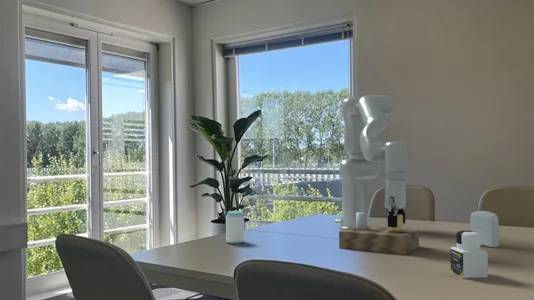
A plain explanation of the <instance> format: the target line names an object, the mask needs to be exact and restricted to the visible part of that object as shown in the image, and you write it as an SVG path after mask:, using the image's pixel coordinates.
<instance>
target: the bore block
mask: <svg viewBox="0 0 534 300" xmlns="http://www.w3.org/2000/svg"><path fill="white" fill-rule="evenodd" d="M338 240H339V241H338V243H339V246H338V247H339V249H343V248H344V249H345V250H355V251H367V252H375V253H383V254H384V253H385V254H397V255H406V256H407V255H408V254H410V253H412V252H413V251H415V250H416V249H418V248H420V230H419V229H412V228H411V229H410V228H403V234H400V233H391V227H383V226H369V225H367V231H360V230H356V225H355V226H352V227H350V228H347V229H344V230H343V229H341V230H339V231H338Z"/></svg>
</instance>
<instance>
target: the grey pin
mask: <svg viewBox="0 0 534 300" xmlns="http://www.w3.org/2000/svg"><path fill="white" fill-rule="evenodd" d="M367 226H368V212H365V211H364V212H357V213H356V230H360V231H367Z"/></svg>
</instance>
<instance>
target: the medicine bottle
mask: <svg viewBox="0 0 534 300" xmlns="http://www.w3.org/2000/svg"><path fill="white" fill-rule="evenodd" d="M488 255H489V254H488V251H486V250H485V249H482V248H481V245H480V234H479V233H478V232H476V231H471V230H459V231H457V232H456V246H451V247H450V273H452V274H453V275H455V276H458V277H460V278H462V279H464V280H466V279H485V278H486V279H487V278H488V277H489V268H488V267H489V262H488V261H489V259H488Z"/></svg>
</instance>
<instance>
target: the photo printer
mask: <svg viewBox="0 0 534 300" xmlns="http://www.w3.org/2000/svg"><path fill="white" fill-rule="evenodd" d="M469 220H470V225H469V226H470V230H469V231H476V232H478V233H479V234H480V246H483V245H484V246H483V247H489V248H498V247H499V246H500V229H499V228H500V227H499V217H498V215H497V214H495V213H494V212H491V211H487V210H477V211H473V212H471V214H470V217H469Z"/></svg>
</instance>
